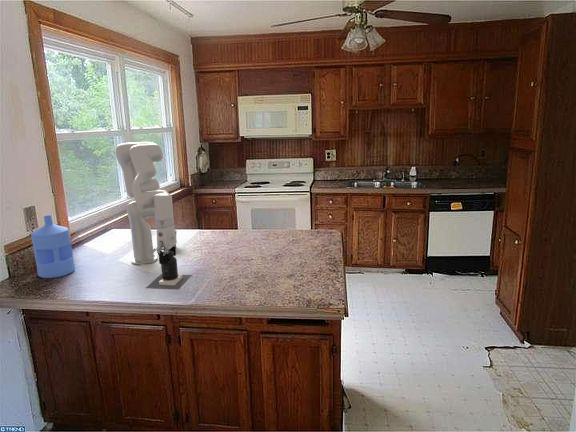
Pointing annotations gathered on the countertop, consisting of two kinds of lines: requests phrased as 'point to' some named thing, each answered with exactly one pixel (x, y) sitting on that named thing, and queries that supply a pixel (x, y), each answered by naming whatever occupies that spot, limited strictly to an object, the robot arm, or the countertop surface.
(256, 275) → the countertop surface
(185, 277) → the mat
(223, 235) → the countertop surface
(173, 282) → the block
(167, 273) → the supplement bottle
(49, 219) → the water jug
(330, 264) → the countertop surface
